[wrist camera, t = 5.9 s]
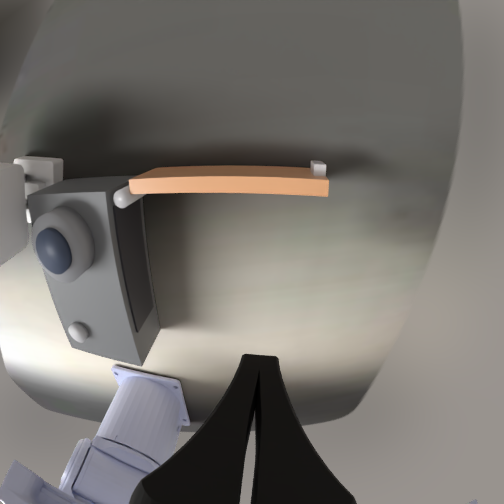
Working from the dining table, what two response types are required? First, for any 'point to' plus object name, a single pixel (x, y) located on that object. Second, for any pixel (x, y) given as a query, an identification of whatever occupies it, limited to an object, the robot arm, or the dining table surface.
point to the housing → (96, 266)
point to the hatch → (227, 181)
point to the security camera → (22, 198)
